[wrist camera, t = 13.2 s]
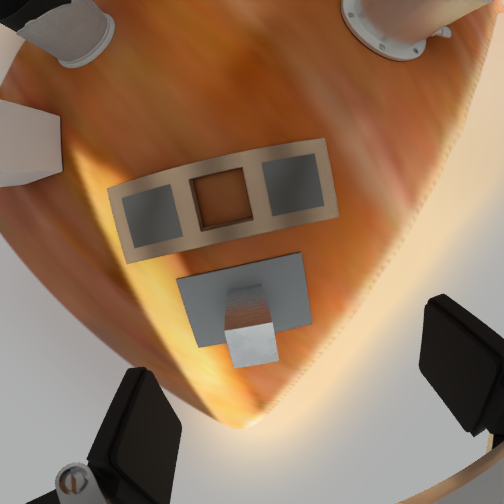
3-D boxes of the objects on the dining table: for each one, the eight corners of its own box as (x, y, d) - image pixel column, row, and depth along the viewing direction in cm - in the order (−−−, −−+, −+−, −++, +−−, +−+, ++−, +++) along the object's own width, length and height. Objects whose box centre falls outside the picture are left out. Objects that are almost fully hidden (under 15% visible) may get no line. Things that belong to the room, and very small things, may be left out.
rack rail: (316, 141, 29) (324, 137, 26) (329, 213, 31) (339, 217, 28) (118, 187, 28) (106, 188, 25) (135, 256, 30) (126, 264, 27)
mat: (300, 251, 31) (301, 252, 31) (311, 322, 34) (312, 323, 33) (176, 278, 31) (176, 280, 31) (198, 346, 33) (198, 347, 33)
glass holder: (56, 78, 24) (-19, 44, 10) (62, 5, 21) (11, -40, 6) (115, 51, 24) (55, -8, 10) (115, -20, 21) (77, -79, 6)
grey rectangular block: (262, 284, 32) (272, 322, 23) (267, 315, 33) (278, 360, 24) (226, 290, 31) (224, 330, 23) (233, 322, 32) (233, 368, 24)
